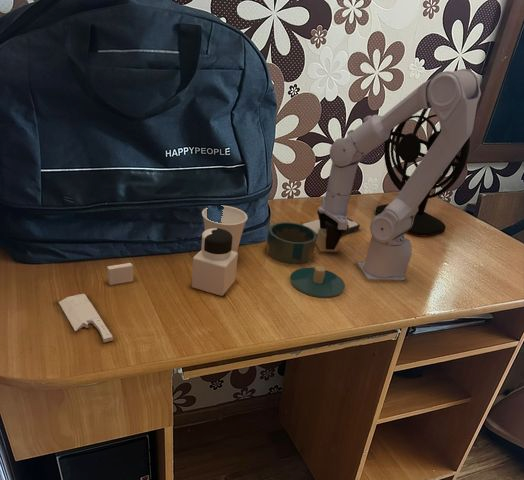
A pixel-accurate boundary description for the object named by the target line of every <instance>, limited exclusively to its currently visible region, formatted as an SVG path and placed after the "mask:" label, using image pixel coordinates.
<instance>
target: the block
mask: <svg viewBox="0 0 524 480" xmlns="http://www.w3.org/2000/svg"><path fill="white" fill-rule="evenodd" d="M340 241H341V239H340V240H339V242H338V243H337V245H336V247H335V249H334V250H332V249H326V229H323V228H319V231H318V236H317V239H316V243H315V245H316V246H317V247H318V250H319V251H320V252H332V253H333V252H334V253H335V252H337V253H338V251H339V246H340Z"/></svg>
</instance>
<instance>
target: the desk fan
mask: <svg viewBox="0 0 524 480" xmlns="http://www.w3.org/2000/svg"><path fill="white" fill-rule="evenodd" d="M428 110H429V108H426V109H422V110H421V113H420V115H413V116H411V117H409V118H408V119H406V120H405V121H403V122H402V123H400V124H399V125H397V126H396V127H394V128H393V129H391V132H390V136H389V138H388V140H386V141H385V142H383V143H384V144H383V146H384V147H383V155H384V163H385V168H386V171H387V173H388V176H389V178H390V180H391V182H392V184H393V185H394V186H395V187H396V188H397V190H399V192H400V191H401V189H402V188H403V187H404V185H405V184H406V182H407V181H408V179H409V178H410V176H411V175H407V169H408V164H411V163H413V165H414V166H415V169H416V168H417V166H418V165H419V164H418V163H417V159H418V158H419V157H420V158H423V157H424V156H425V154H426V153H427V152H428V150H429V149H430V147H431V146H432V144H433V143H434V141H435V140H436V138H437V137H438V135H439V134H440V133H441V127H440V126H439V130H437V127H436V125H435V124H434V122H432V121H431V120H430V119H432V118H435V117H437V115H436V114H432V115H429V116H427V117H426V116H425V115H426V113H427V111H428ZM414 118H416V119H417V118H418V119H417V121H416V124H415V126H414V129H413V132H409V133H406V134H405V133H402V132H403V130H404V128H405V126H406V123H407V122H408V121H410V120H411V119H414ZM425 122H426V123H428V124H429V126H430V127H431V129H432V130H433V133H431V134H430V136H429V137H428V138H427V140H424V139H422V138H419V137H418V135H417V133H418V131H419V129H420V128H421V126H422V125H423V124H424V123H425ZM422 145H424V146H426V153H423V152H421V151H422ZM470 145H471V136H470V137H469V138H468V139H467V141H466V142H465V143H464V145H463V146H462V148H461V149H460V152H458V153H457V154H456V156H455V157H454V158H453V160H452V161H451V162H450V164H449V165H448V167H447V168H446V169H445V171H444V172H443V173H442V175H441V176H440V177H439V179H438V180H437V182H436V183H435V184H434V186H433V187H432V188H431V190H430V191H429V192H428V194H427V195H426V196H425V198H424V199H423V201H422V202H421V203H420V205H419V206H418V212H417V213H416V215H415V217H414V221H413V225H412V227H411V228H410V229H409V230H408V231H407V232H406V233H409V234H412V235H415V236H421V237H428V236H429V237H430V236H433V235H436V234H441V233H443V232H445V231H446V228H447V227H446V224H445V223H444V221H442V220H441V219H439V218H437V217H435V216H433V215H432V214H429V213H428V212H425V209H426V206H427V204H428V201H429V199H432V198H436V197H439V196H440V195H442V194H444V193H445V192H447V191H448V190H449V189H451V187H452V186H454V184H455V183H456V182H457V181H458V179H459V177H461V175H462V173H463V170H464V168H465V167H466V164H467V161H468V157H469V153H470ZM459 153H460V154H459ZM458 154H459V155H458ZM401 160H402V161H403V166H402V163H401V162H402V161H401ZM452 167H454V168H453V170H452V172H450V174H449V171H450V170H451V168H452ZM395 170H396V171H397V172H398V174H399V175H400V176H401V179H400V178H399V176H398V175H397V174H396V172H395ZM448 174H449V176H448ZM446 176H447V177H446ZM444 185H445V186H444ZM443 186H444V187H443ZM441 187H442V188H441ZM438 188H441V189H440V190H438V191H436V192H434V193H432V194H431V192H432V190H436V189H438ZM389 204H390V203H385V204H379V205H377V206H376V207H375V214H376V216H377V215H379V214H381V213H382V212H383V211H384V209H385V208H386V207H387V206H388V205H389Z"/></svg>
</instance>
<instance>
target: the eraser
mask: <svg viewBox="0 0 524 480" xmlns="http://www.w3.org/2000/svg"><path fill="white" fill-rule="evenodd" d="M106 270H107V282H108V284H109V286H113V285H119V284H125V283H130V282H134V265H133V264H132V263H131V262H127V263H121V264H114V265H109V266H106Z"/></svg>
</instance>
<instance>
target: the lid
mask: <svg viewBox="0 0 524 480" xmlns="http://www.w3.org/2000/svg"><path fill="white" fill-rule="evenodd" d="M289 277H290V278H289V281H290V284H291V286H293V288H294V289H296V290H297V291H299V292H300V293H302V294H305V295H306V296H309V297H313V298H319V299H320V298H321V299H331V298H335V297H338V296H341V294H343V293H344V291H345V288H346V283H345V281H344V280H343V278H341V277H340V276H339V275H338V274H336V273H334V272H333V271H330V270H327V268H326V267H325V266H322V265H316V266H315V267H303V268H298V269H295V270H294V271H293V272H291V274H290V276H289Z"/></svg>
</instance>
